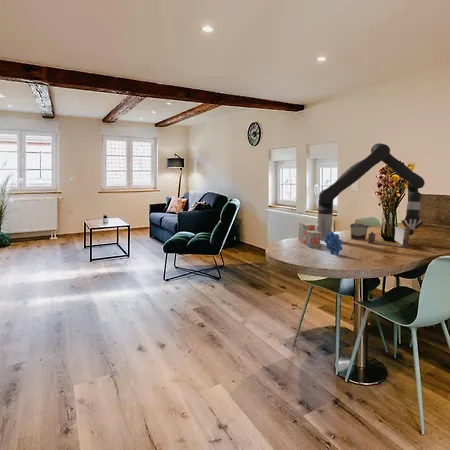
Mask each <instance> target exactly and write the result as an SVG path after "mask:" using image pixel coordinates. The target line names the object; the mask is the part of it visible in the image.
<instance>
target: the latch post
mask: <svg viewBox="0 0 450 450" xmlns="http://www.w3.org/2000/svg"><path fill="white" fill-rule="evenodd" d="M375 242H376V233H374V231H371V232H370V233H368V240H367V244H371V245H373V243H374V244H375Z"/></svg>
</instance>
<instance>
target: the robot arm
mask: <svg viewBox="0 0 450 450" xmlns="http://www.w3.org/2000/svg"><path fill="white" fill-rule="evenodd" d="M380 162H383V163H384V164H385V165H386V166H387V167H389V168H390V170H392V171H393V172H394V173H395V174H396V175H397V176H398V177H399V178H401V179H402V180H404V181H407V185H406V186H407V193H408V197H407V203H406V211H405V217H404V219H402V220H400V222H401V223H402V224H403V226H404V228H405V227H409V228H410V234H409V236H413V235H414V231H415V230H417V229H418V228H419V227H421V225H424V221H422V220H421V218H420V215H421V214H420V213H421V198H422V194H421V192H419V189H422V188H423V187H424V186H425V184H426V183H425V180H424V178H423V177H422V176H420V175H419V174H418V173H415V172H414V171H412V170H411V169H410V168H409V167H408V166H407V165H406V164H404V163H403V162H402V161H400V160H399V159H398V158H396V157H394V155H392V154H391V149H390V146H389V145H387V144H384V143H380V142H379V143H375V144H373V145H372V146H371V149H370V154H369V155H367V156H366V157H365V158H364V159H362V160H360V161H358V162H356V163H354V164H353V165H352V166H350V167H349V168H348V169H346V170H345V171H344V172H343V173H342V174H341V175H340V176H339V177H338V179H336V180H335V182H334V183H332V184H331V185H330V186H328V187H327V188H325V189H322V190H321V191H320V192H319V194H318V207H317V209H318V211H317V224H316V231H318V232H320V233H321V236H320V241H324V239H325V238H326V234H327V233H329V234H330V232H332V228H333V227H332V226H333V214H334V213H333V212H334V211H333V210H334V200H335V199H336V198H337V197H338V196H339V195H340V194H341V193H342V192H344V190H347V189H348V188H349V187H350V186H352V185H353V184H355V183H356V182H357V181H359V179H361V178H362V177H364V175H366V173H367V172H369V171H370V170H372V169H373V168H374V167H375V166H376V165H378V164H379V163H380Z"/></svg>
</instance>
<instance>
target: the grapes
mask: <svg viewBox="0 0 450 450" xmlns="http://www.w3.org/2000/svg"><path fill="white" fill-rule="evenodd" d="M323 241H324V242H323V243H325V248H326V249H327V250H329V253H331V254H333V255H334V254H335V255H338V254H340V252H342V250H343V246H342V245H343V240H342V239H341V238H340V235H339V234H338V233H335V232H333V231H331V232H330V234H329V233H327V234H326V238H325V239H324V240H323Z"/></svg>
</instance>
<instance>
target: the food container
mask: <svg viewBox="0 0 450 450" xmlns="http://www.w3.org/2000/svg"><path fill="white" fill-rule="evenodd" d="M369 227H370V226H369V224H366V223H350V225H349V228H350V239H351V240H364V239H365V240H366V239H367V233H368V229H369Z"/></svg>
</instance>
